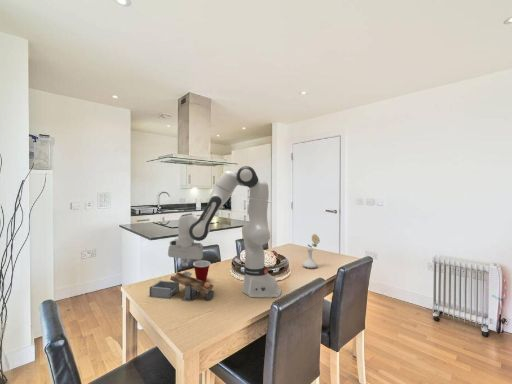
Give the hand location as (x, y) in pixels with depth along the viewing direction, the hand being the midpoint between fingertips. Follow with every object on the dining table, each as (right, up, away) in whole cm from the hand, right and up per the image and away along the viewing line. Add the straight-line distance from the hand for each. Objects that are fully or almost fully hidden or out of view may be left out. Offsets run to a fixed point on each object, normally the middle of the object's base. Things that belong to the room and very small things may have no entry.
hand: (185, 265), depth 146 cm
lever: (+6, -8, -5) cm, 11 cm away
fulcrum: (+6, -14, -8) cm, 17 cm away
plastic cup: (+7, -14, +13) cm, 21 cm away
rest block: (+16, -15, -10) cm, 24 cm away
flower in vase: (+82, -14, +46) cm, 95 cm away
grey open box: (-10, -14, -5) cm, 18 cm away
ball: (+14, -8, -10) cm, 19 cm away
